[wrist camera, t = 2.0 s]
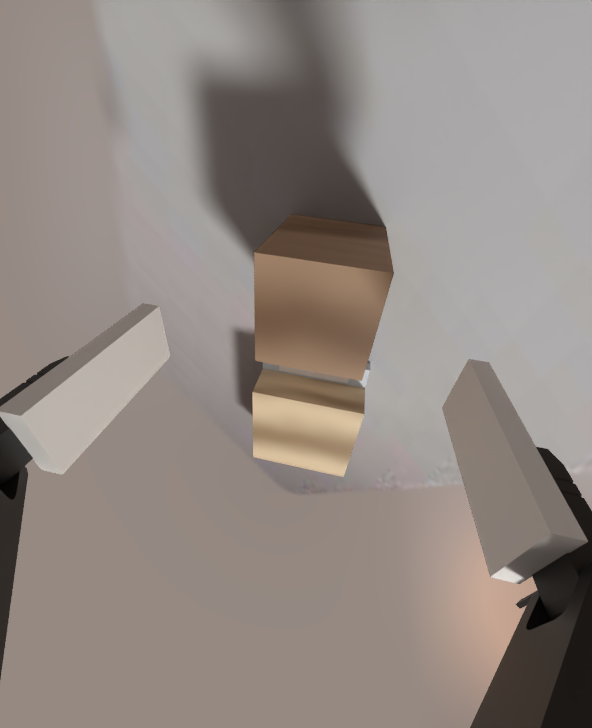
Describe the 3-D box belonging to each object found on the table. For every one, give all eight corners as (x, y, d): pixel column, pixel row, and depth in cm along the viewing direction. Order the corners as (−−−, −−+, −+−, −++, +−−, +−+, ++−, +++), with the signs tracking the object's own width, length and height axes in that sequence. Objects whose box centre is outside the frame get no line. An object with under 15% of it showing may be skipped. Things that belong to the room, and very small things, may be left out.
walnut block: (291, 214, 19) (254, 252, 13) (385, 226, 18) (393, 273, 12) (286, 299, 23) (255, 360, 17) (364, 312, 22) (362, 381, 16)
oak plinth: (262, 369, 26) (252, 392, 24) (364, 388, 25) (364, 414, 23) (261, 433, 32) (253, 457, 30) (345, 451, 31) (343, 476, 29)
